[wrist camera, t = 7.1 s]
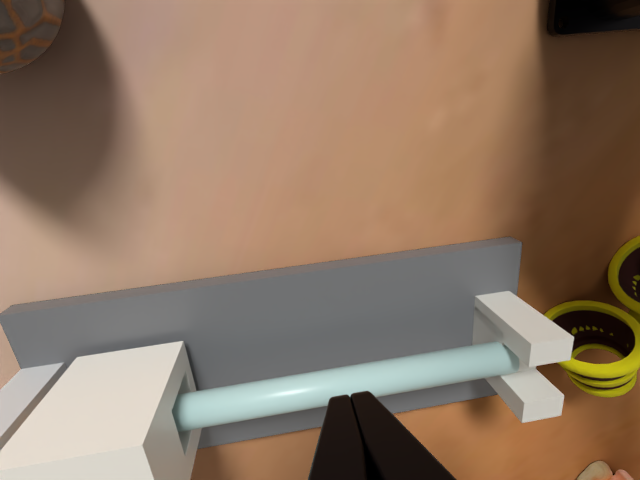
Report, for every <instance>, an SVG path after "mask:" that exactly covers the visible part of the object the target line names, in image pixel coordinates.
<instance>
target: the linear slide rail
mask: <svg viewBox="0 0 640 480" xmlns="http://www.w3.org/2000/svg"><path fill="white" fill-rule="evenodd" d="M521 250H522V242H521V241H518V240H516V239H514V238H512V237H504V238H496V239H489V240H482V241H475V242H467V243H460V244H453V245H445V246H438V247H431V248H424V249H416V250H409V251H402V252H395V253H387V254H380V255H373V256H366V257H358V258H351V259H344V260H337V261H329V262H322V263H315V264H308V265H300V266H293V267H286V268H279V269H271V270H264V271H257V272H249V273H242V274H235V275H228V276H220V277H213V278H206V279H199V280H191V281H184V282H177V283H170V284H162V285H155V286H148V287H141V288H133V289H126V290H119V291H112V292H104V293H97V294H90V295H83V296H75V297H68V298H61V299H53V300H46V301H39V302H32V303H24V304H17V305H12V306H10V307H9V308H7V309H6V310H5V311H3V312H2V313H0V323H1V325H2V327H3V330H4V332H5V334H6V336H7V339H8V341H9V343H10V345H11V348H12V350H13V352H14V354H15V356H16V359H17V361H18V363H19V365H20V368H21V370H20V371H19V372H18V373H17V374H16V375H15V376H14V377H13V378H12V379H11V380H10V381H9V382H8V383H7V384H6V385H5V386H4V387H3V388H2V389H1V390H0V451H1V449H2V448H3V447H4V446H5V444H6V443H7V442H8V441H9V440H10V438H11V437H12V436H13V435H14V433H15V432H16V431H17V430H18V429H19V427H20V426H21V425H22V424H23V422H24V421H25V420H26V419H27V418H28V416H29V415H30V414H31V413H32V411H33V410H34V409H35V408H36V407H37V405H38V404H39V403H40V402H41V400H42V399H43V398H44V397H45V396H46V394H47V393H48V392H49V391H50V389H51V388H52V387H53V386H54V385H55V383H56V382H57V381H58V380H59V378H60V377H61V376H62V375H63V374H64V372H65V371H66V370H67V369H68V367H69V366H70V365H71V364H72V363H73V361H74V360H75V359H76V358H77V357H81V356H87V355H94V354H100V353H107V352H113V351H120V350H127V349H133V348H140V347H146V346H153V345H159V344H166V343H172V342H179V341H184V344H185V348H186V352H187V356H188V360H189V364H190V368H191V372H192V375H193V379H194V383H195V387H196V391H194V392H188V393H182V394H177V397H176V400H175V403H174V406H173V409H172V414H173V418H174V421H175V424H176V428H177V431H178V432H182V431H188V430H193V429H199V428H202V430H201V434H200V439H199V443H198V447H197V449H200V448H206V447H211V446H217V445H222V444H228V443H233V442H239V441H244V440H250V439H255V438H261V437H266V436H272V435H277V434H283V433H288V432H294V431H299V430H305V429H310V428H316V427H321V426H322V424H323V421H324V417H325V413H326V409H327V405H328V402H329V399H330V398H331V397H334V396H339V395H345V394H347V395H349V396H351V394H352V393H357V392H362V391H370V392H371V393H372V394H373V395H374V396H375V397H376V398H377V399H378V400H379V401H380V402H381V403H382V404H383V405H384V406H385V407H386V408H387V409H388V410H389V411H390V412H391V413H392V414H393V413H398V412H404V411H409V410H415V409H420V408H426V407H431V406H437V405H442V404H448V403H453V402H459V401H464V400H470V399H475V398H481V397H486V396H492V395H497V394H498V395H499V396H500V397H501V398H502V400H503V401H504V402H505V403H506V404H507V406H508V407H509V408H510V409H511V410H512V412H513V413H514V414H515V415H516V416H517V418H518V419H519V420H520V421H521V422H522V423H524V422H530V421H535V420H540V419H545V418H551V417H556V416H561V413H562V407H563V401H564V395H563V394H562V393H561V392H560V391H559V390H558V389H557V388H556V387H555V386H554V385H553V384H552V383H551V382H549V381H548V380H547V379H546V378H545V377H544V376H543V375H542V374H541V373H540V372H539V371H538V370H537V369H536V366H539V365H544V364H550V363H556V362H561V361H567V360H570V359H571V353H572V347H573V341H574V337H573V336H572V335H571V334H569V333H568V332H566V331H565V330H563V329H562V328H561V327H559V326H558V325H556V324H555V323H554V322H552V321H551V320H549V319H548V318H547V317H545V316H544V315H542V314H541V313H540V312H538V311H537V310H535V309H534V308H533V307H531V306H530V305H528V304H527V303H526V302H524V301H523V300H521V299H520V298H519V297H517V290H518V280H519V270H520V260H521Z"/></svg>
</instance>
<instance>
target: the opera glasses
mask: <svg viewBox="0 0 640 480" xmlns="http://www.w3.org/2000/svg"><path fill="white" fill-rule="evenodd" d="M608 283H609V285H610V288H611V290H612V292H613V293H614V295H615V296H616V298H617V299H618V300H619V301H620V302H621V303H622V304H624V305H625V306H626V307H627V308H629V309H630V310H629V312H628V313H626V312H625V311H623V310H621V309H619V308H617V307H614V306H612V305H609V304H606V303H601V302H596V301H580V300H577V301H571V302H565V303H562V304H559V305H557V306H555V307H553V308H551V309H550V310H548V311H547V312H546V313H545V314H544V316H545V317H547V318H548V319H549V320H551V321H552V320H553V321H552V322H554V323H555V324H556V325H558V326H559V327H561V328H562V329H563V330H565V331H566V332H568V333H569V334H571V335H572V336H573V337H574V341H573V347H572V353H571V359H570V360H567V361H561V362H556V363H558V364H559V365H560V366H561V367H562V368H563V369H564V370H565V371H566V372H567V374H568V377H569V378H570V380H571V381H572V382H573V383H574V384H575V385H576V386H577V387H578V388H580V389H581V390H583V391H585V392H587V393H589V394H592V395H595V396H599V397H606V398H607V397H617V396H620V395H624V394H625V393H627V392H628V391H630V390H631V389H632V388H633V387H634V385H635V382H636V380H637V371H638V369H639V367H640V236H637V237H635V238H633V239H631V240H630V241H628V242H627V243H625V244H624V245H623V246H622V247H620V248H619V250H618V251H617V252H616V254H615V255H614V256H613V258H612V260H611V262H610V264H609V268H608ZM576 310H577V311H576ZM587 349H603V350H606V351H609V352H611V353H613V354H615V355H617V356H618V357H619V358H621V359H622V360H620V361H617V362H613V363H609V364H592V363H586V362H581V361H578V360H575V359H574V358H575V357H576V355H577V354H579V353H580V352H582V351H584V350H587Z"/></svg>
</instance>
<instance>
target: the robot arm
mask: <svg viewBox="0 0 640 480" xmlns="http://www.w3.org/2000/svg"><path fill="white" fill-rule="evenodd" d="M560 19H561V20H562V27H561V28H560V27H559V20H560ZM547 30H548V33H549V34H550V35H551V36H554V37H560V36H572V35H584V34H596V33H608V32H620V31H633V30H640V0H550V2H549V11H548V21H547ZM308 480H456V479H455V478H454V477H453V476H452V475H451V474H450V472H449V471H448V470H447V469H446V468H445V467H444V466H443V465H442V464H441V463H440V462H439V461H438V460H437V459H436V458H435V457H434V456H433V455H432V454H431V453H430V452H429V451H428V450H427V449H426V448H425V447H424V446H423V445H422V444H421V443H420V442H419V441H418V440H417V439H416V438H415V437H414V436H413V435H412V434H411V433H410V432H409V431H408V430H407V429H406V428H405V427H404V426H403V424H402V423H401V422H400V421H399V420H398V419H397V418H396V417H395V416H394V415H393V414H392V413H391V412H390V411H389V410H388V409H387V408H386V407H385V406H384V405H383V404H382V403H381V402H380V401H379V400H378V399H377V398H376V397H375V396H374V395H373V394H372V393H371V392H370V391H362V392H357V393H352V394H351V396H349V395H347V394H345V395H339V396H334V397H331V398H330V399H329V402H328V405H327V409H326V413H325V417H324V421H323V424H322V428H321V432H320V436H319V439H318V443H317V447H316V451H315V455H314V458H313V462H312V466H311V470H310V474H309V477H308Z"/></svg>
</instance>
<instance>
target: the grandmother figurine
mask: <svg viewBox="0 0 640 480" xmlns="http://www.w3.org/2000/svg"><path fill="white" fill-rule="evenodd" d="M576 480H633V479H632V477H631V476H630V475H629V474H628V473H627V472H626V471H625V470H618V471H616V474H615V475H613V473H612V471H611V470H610V468H609V466H608V465H607V464H606V463H605V462H603V461H596V462H594V463H592V464H590V465H589V466H588V467H587V468H586V469H585V470H584V471H583V472H582V473H581V474H580V475H579V477H578V478H577V479H576Z"/></svg>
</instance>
